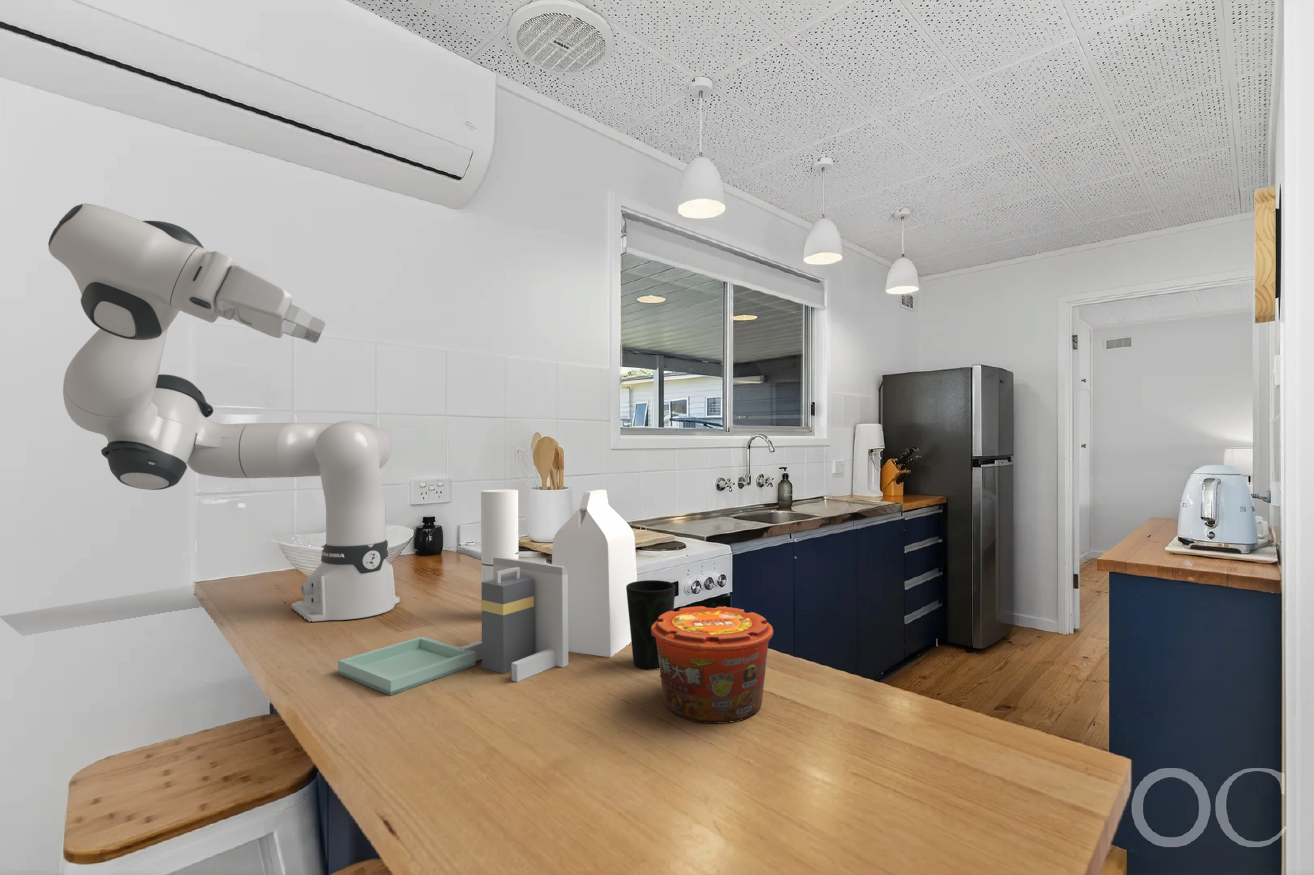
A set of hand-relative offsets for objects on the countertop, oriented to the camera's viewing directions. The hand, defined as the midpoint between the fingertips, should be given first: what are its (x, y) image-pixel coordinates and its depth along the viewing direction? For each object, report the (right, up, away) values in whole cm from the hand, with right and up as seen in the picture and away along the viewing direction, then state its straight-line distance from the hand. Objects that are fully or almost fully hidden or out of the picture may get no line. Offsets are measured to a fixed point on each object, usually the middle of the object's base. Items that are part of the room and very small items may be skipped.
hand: (321, 333), depth 89 cm
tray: (+11, -50, +4) cm, 52 cm away
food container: (+56, -50, -9) cm, 76 cm away
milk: (+38, -51, +16) cm, 66 cm away
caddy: (+26, -50, +6) cm, 57 cm away
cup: (+48, -50, +6) cm, 70 cm away
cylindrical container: (+18, -51, +32) cm, 63 cm away
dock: (+26, -50, +6) cm, 57 cm away
